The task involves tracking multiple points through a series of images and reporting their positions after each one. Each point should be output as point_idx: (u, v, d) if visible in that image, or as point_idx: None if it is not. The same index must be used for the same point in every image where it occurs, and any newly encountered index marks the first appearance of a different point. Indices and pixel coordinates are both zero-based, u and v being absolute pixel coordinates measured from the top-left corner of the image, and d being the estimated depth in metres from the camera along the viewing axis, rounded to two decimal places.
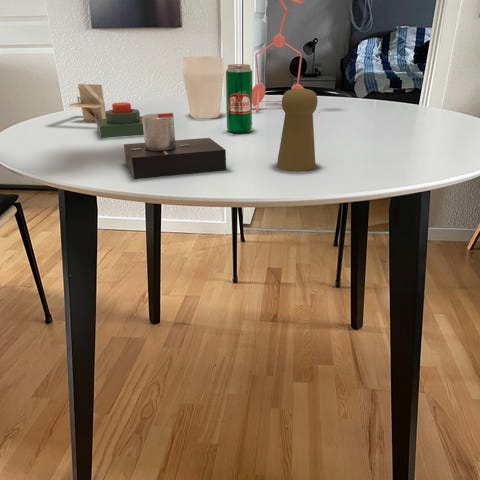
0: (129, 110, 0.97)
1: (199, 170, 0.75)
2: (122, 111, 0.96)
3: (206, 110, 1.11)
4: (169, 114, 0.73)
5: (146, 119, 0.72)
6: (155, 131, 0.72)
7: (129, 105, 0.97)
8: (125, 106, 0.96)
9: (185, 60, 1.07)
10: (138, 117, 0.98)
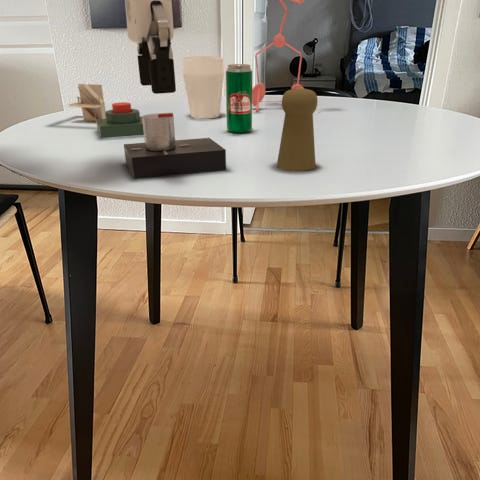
0: (129, 110, 0.97)
1: (199, 170, 0.75)
2: (122, 111, 0.96)
3: (206, 110, 1.11)
4: (169, 114, 0.73)
5: (146, 119, 0.72)
6: (155, 131, 0.72)
7: (129, 105, 0.97)
8: (125, 106, 0.96)
9: (185, 60, 1.07)
10: (138, 117, 0.98)
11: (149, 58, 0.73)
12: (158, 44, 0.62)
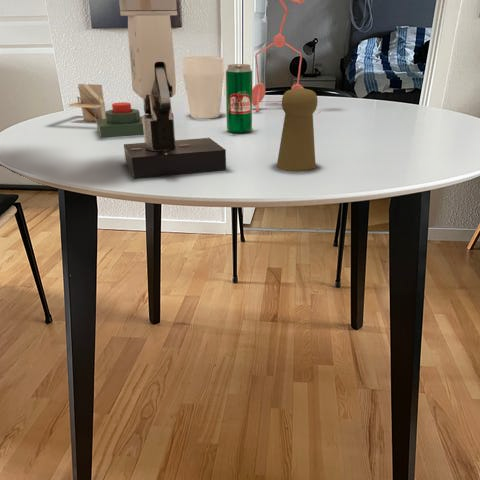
0: (129, 110, 0.97)
1: (199, 170, 0.75)
2: (122, 111, 0.96)
3: (206, 110, 1.11)
4: None
5: (146, 119, 0.72)
6: None
7: (129, 105, 0.97)
8: (125, 106, 0.96)
9: (185, 60, 1.07)
10: (138, 117, 0.98)
11: None
12: (159, 109, 0.68)
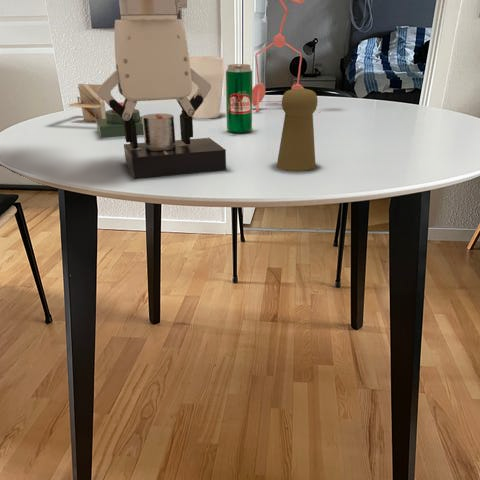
0: None
1: (199, 170, 0.75)
2: None
3: (206, 110, 1.11)
4: (158, 116, 0.72)
5: None
6: None
7: None
8: None
9: None
10: (138, 117, 0.98)
11: (182, 118, 0.75)
12: None
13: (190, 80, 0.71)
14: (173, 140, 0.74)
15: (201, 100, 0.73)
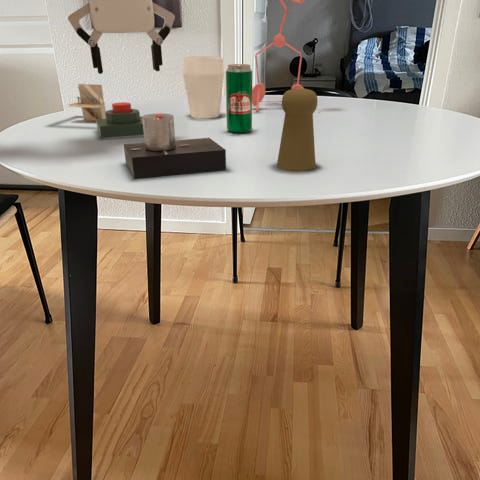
0: (129, 110, 0.97)
1: (199, 170, 0.75)
2: (122, 111, 0.96)
3: (206, 110, 1.11)
4: (158, 116, 0.72)
5: None
6: None
7: (129, 105, 0.97)
8: (125, 106, 0.96)
9: (185, 60, 1.07)
10: (138, 117, 0.98)
11: (152, 47, 0.85)
12: None
13: (153, 15, 0.82)
14: (173, 140, 0.74)
15: (169, 30, 0.84)
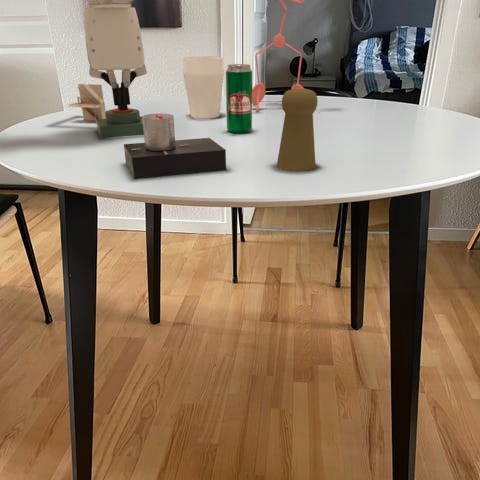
0: None
1: (199, 170, 0.75)
2: None
3: (206, 110, 1.11)
4: (158, 116, 0.72)
5: None
6: None
7: (130, 111, 0.97)
8: (126, 112, 0.97)
9: (185, 60, 1.07)
10: (138, 117, 0.98)
11: (120, 89, 0.96)
12: None
13: (143, 54, 0.93)
14: (173, 140, 0.74)
15: (135, 75, 0.95)
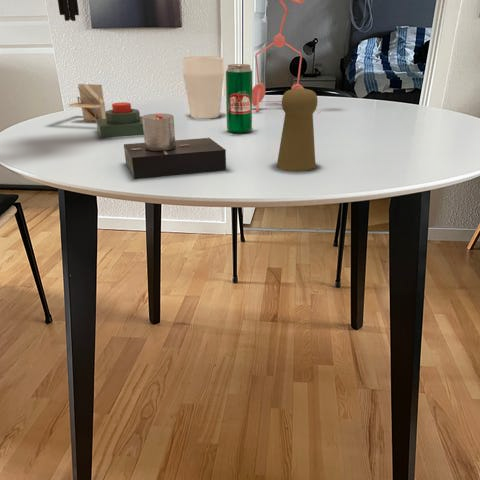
0: (129, 110, 0.97)
1: (199, 170, 0.75)
2: (122, 111, 0.96)
3: (206, 110, 1.11)
4: (158, 116, 0.72)
5: None
6: None
7: (129, 105, 0.97)
8: (125, 106, 0.96)
9: (185, 60, 1.07)
10: (138, 117, 0.98)
11: None
12: None
13: None
14: (173, 140, 0.74)
15: None
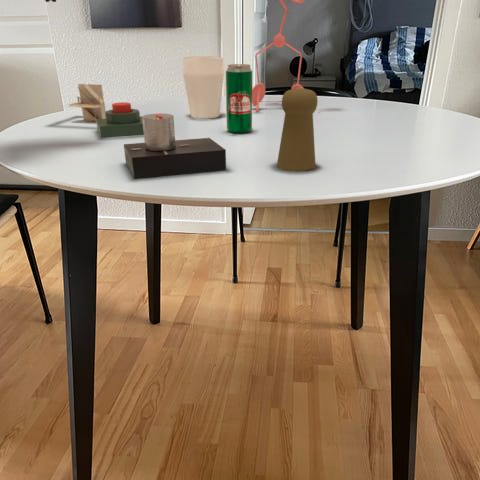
0: (129, 110, 0.97)
1: (199, 170, 0.75)
2: (122, 111, 0.96)
3: (206, 110, 1.11)
4: (158, 116, 0.72)
5: None
6: None
7: (129, 105, 0.97)
8: (125, 106, 0.96)
9: (185, 60, 1.07)
10: (138, 117, 0.98)
11: None
12: None
13: None
14: (173, 140, 0.74)
15: None
